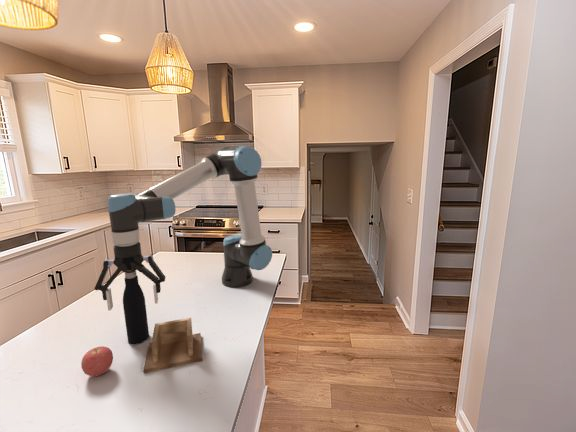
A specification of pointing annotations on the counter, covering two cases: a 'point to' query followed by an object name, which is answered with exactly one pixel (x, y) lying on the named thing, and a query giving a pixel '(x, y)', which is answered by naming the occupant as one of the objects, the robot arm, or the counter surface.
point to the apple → (97, 361)
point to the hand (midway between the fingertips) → (134, 305)
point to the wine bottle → (134, 307)
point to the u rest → (173, 346)
